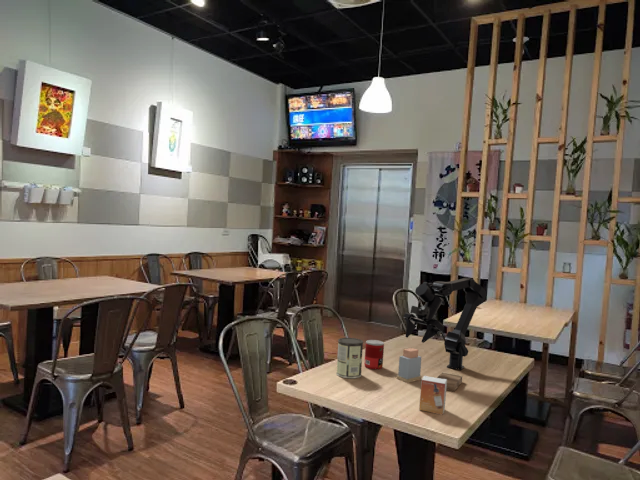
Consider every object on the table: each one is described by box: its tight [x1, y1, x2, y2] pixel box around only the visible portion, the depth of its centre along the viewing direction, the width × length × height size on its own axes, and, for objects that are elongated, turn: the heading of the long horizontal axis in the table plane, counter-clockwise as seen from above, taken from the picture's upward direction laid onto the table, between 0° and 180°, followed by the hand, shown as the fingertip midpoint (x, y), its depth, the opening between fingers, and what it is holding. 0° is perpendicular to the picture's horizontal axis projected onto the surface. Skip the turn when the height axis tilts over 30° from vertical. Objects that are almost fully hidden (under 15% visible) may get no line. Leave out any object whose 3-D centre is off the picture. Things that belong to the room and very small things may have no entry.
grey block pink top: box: [396, 347, 423, 384], centre depth 193 cm, size 9×6×12 cm, turn 130°
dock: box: [436, 371, 463, 392], centre depth 189 cm, size 14×8×3 cm, turn 152°
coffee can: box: [336, 337, 364, 379], centre depth 194 cm, size 10×10×14 cm
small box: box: [418, 375, 447, 416], centre depth 160 cm, size 8×6×10 cm
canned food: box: [364, 339, 385, 370], centre depth 207 cm, size 8×8×11 cm
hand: (414, 339), depth 198 cm, fingers open, 9 cm apart
